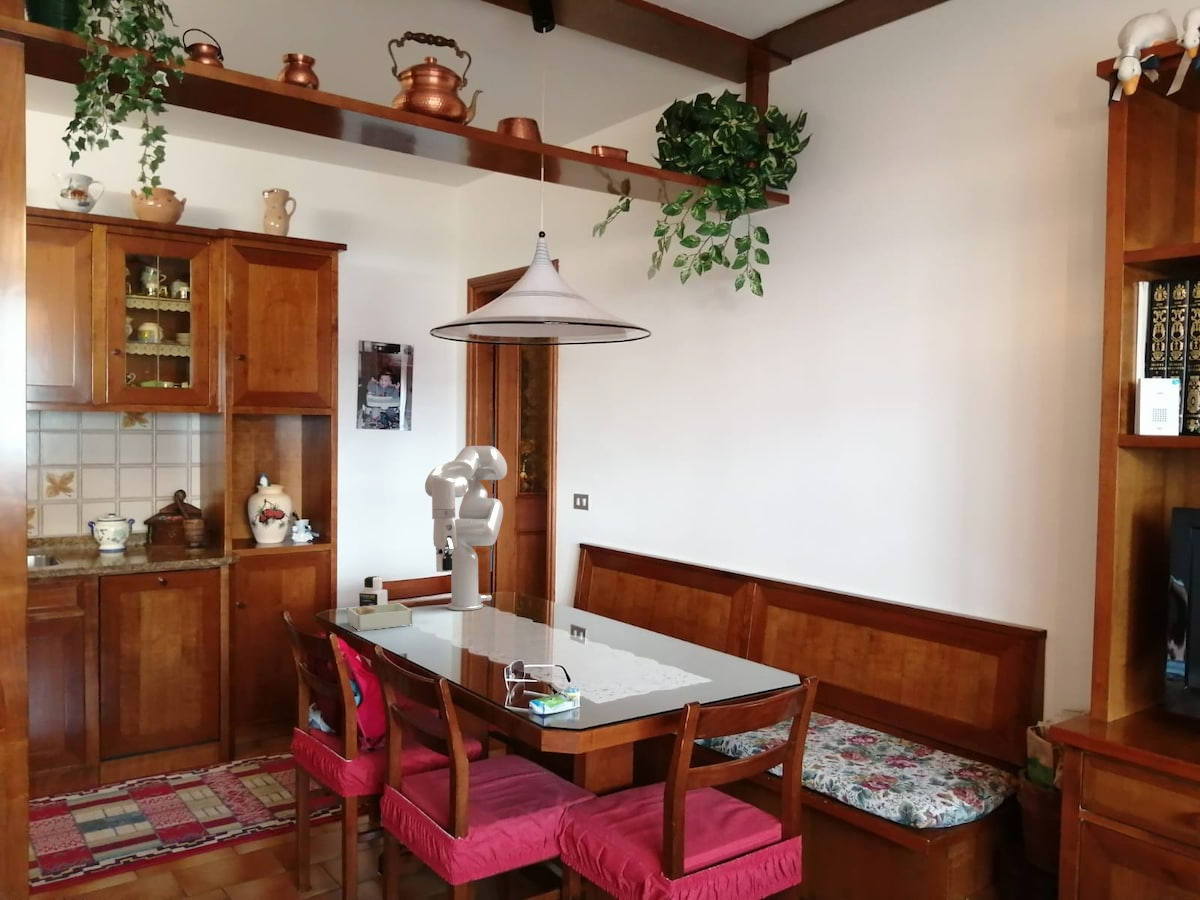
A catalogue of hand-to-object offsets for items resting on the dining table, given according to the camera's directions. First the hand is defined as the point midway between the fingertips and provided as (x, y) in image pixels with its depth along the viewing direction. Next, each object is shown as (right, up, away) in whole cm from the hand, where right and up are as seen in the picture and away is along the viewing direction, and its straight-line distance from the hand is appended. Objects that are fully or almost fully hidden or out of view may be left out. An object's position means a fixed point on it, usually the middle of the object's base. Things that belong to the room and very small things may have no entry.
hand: (444, 568), depth 303 cm
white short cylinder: (0, -1, 0) cm, 1 cm away
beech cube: (-24, -17, -6) cm, 30 cm away
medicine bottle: (-28, -17, +18) cm, 37 cm away
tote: (-20, -18, -4) cm, 27 cm away
